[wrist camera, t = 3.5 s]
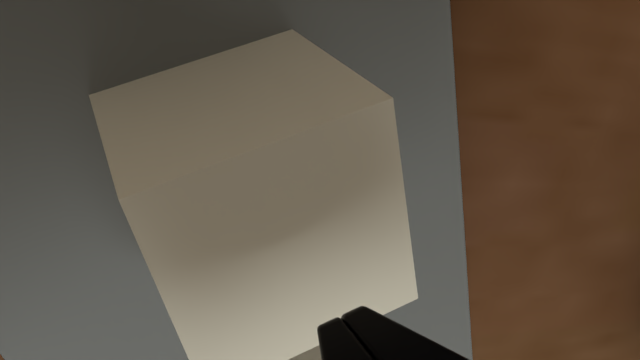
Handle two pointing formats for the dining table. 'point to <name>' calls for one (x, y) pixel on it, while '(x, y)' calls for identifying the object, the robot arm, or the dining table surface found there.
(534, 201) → the dining table surface
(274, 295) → the plain block
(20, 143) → the mat
